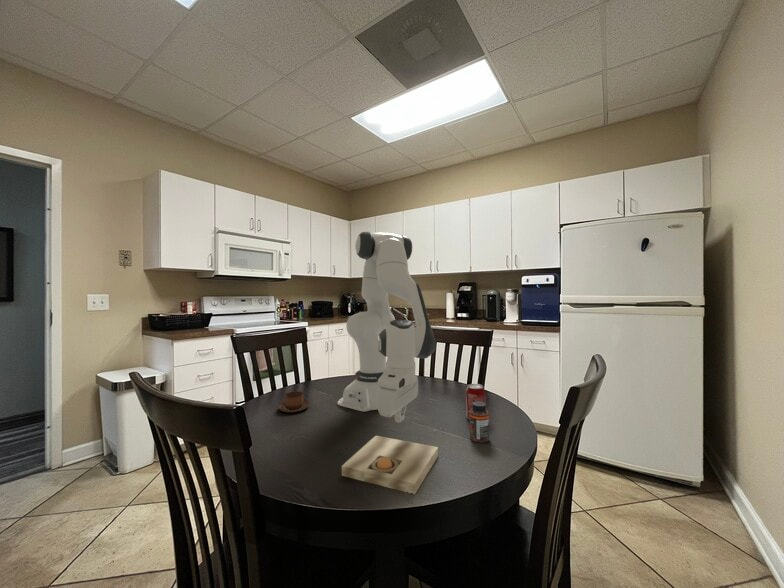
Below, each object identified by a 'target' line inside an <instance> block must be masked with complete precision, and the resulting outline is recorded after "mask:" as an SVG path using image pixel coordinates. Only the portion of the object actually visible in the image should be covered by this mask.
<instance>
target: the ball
mask: <svg viewBox="0 0 784 588" xmlns="http://www.w3.org/2000/svg"><path fill="white" fill-rule="evenodd" d="M377 468H378V469H382V470H387V469H391V468H392V462H391V460H390V459H389V458H387V457H383V458H381V459H379V461H378V463H377Z"/></svg>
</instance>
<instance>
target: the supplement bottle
mask: <svg viewBox="0 0 784 588" xmlns="http://www.w3.org/2000/svg"><path fill="white" fill-rule="evenodd" d="M486 405H487V404H486V402H485V403H483V402H473V406H472V407H473V408H472V409H471V410H470V419H469V438H470V440H471V441H473V442H476V443H480V444H481V443H488V442H489V440H490V412H489V411H488V409H486V408H487V406H486Z"/></svg>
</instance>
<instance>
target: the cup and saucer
mask: <svg viewBox="0 0 784 588" xmlns="http://www.w3.org/2000/svg"><path fill="white" fill-rule="evenodd" d="M302 405H305V407H304V408H301V407H302ZM283 406H285V407H286V408H287V409H289V410H283V409H281V408H282V407H283ZM309 406H310V402H309V400H304V392H302V391H290V392H287V393H285V394H284V402H282V403H280V404H279V405H278V410H280V411H281V412H283V413H298V412H301V411H304V410H305V409H307V408H308V407H309ZM299 408H301V409H299ZM297 411H298V412H297Z"/></svg>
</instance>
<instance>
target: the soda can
mask: <svg viewBox="0 0 784 588" xmlns="http://www.w3.org/2000/svg"><path fill="white" fill-rule="evenodd" d="M473 402H483V403H485V404H486V390H485V389H484V385H482V384H480V383H470V384H468V385H467V387H466V389H465V403H466V404H465V406H466V407H465V408H466V409H465V410H466V411H465V412H466V415H465V416H466V418H467V419H468V420H470V410H471V409H472V408H473V407H472V406H473Z"/></svg>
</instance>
